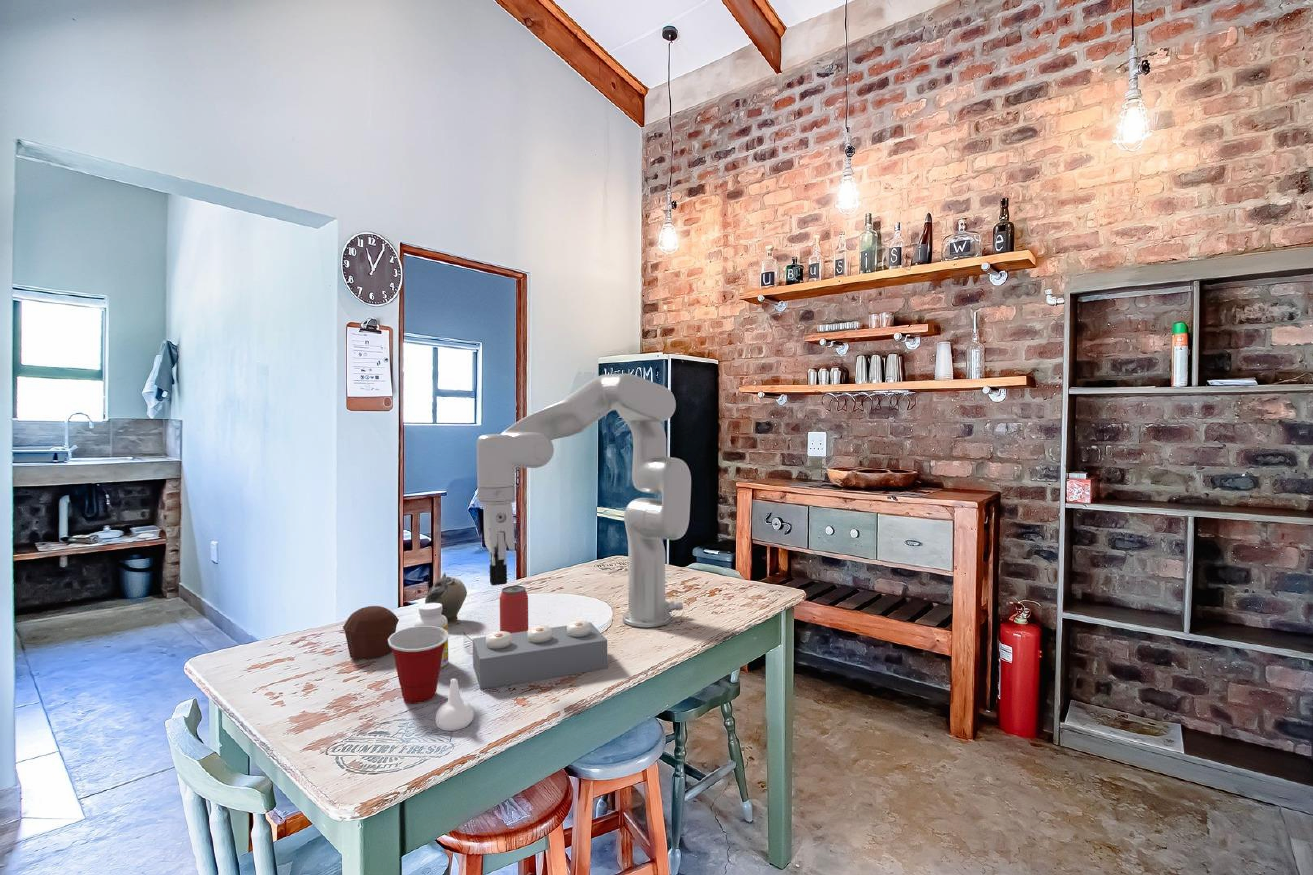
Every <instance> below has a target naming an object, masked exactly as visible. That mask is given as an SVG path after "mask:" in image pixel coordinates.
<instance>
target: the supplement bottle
mask: <svg viewBox="0 0 1313 875" xmlns="http://www.w3.org/2000/svg"><path fill="white" fill-rule="evenodd" d="M442 610H443V609H442V604H440V603H428V604H425V603H424V604H421V605H420V606H419V607H418V614H419V617H418V618H417V619H416V620H415V621H414V626H413V627H416V626H435V627H440V628H443V629H444V630H446V631H447V632H448V633H449V630H448V628H449V626H448V622H447V618H446V617H445V616H444V615H442V614H441V612H442ZM448 663H449V638H448V639H447V641H446V642H445V646H444V650H443V654H442V661H441V667H440V669H441V668H444V667H445V666H447V665H448Z"/></svg>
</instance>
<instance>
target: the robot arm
mask: <svg viewBox="0 0 1313 875" xmlns="http://www.w3.org/2000/svg"><path fill="white" fill-rule="evenodd" d="M676 402H677V401H676V399H675V396H674V394H673V392H672V391H671V390H670V389H668V387H666V386H664V385H661V384H659V383H656V382H653V381H651V380H649V379H646V378H644V377H641V376H639V375H635V374H631V373H612V374H611V373H610V374H609V373H607V374H601V375H598V376H596V377H594V378H592V379H591V380H590V381H588V382H586V383H585V384H583V386H581V387H580V388H578V389H577V390H575V391H574V392H572V393H571V394H569V395H568V396H566V397H564V398H563V399H562V400H560V401H559V402H556V403H553V404H551V405H549V406H547V407H544V408H543V409H540V410H538V411H536V412H533V413H531V414H529V415H527V416H525V417H523V418H521V419H519V421H517V422H515V423H513V424H512V425H511V426H509V427H508V428H506V429H505V430H504V431H502V433H492V434H491V433H489V434H483V435H480V436H479V437H478V438H477V441H476V469H477V470H476V472H477V473H476V474H477V475H476V476H477V478H476V479H477V480H476V482H477V483H476V484H477V503H478V504H481V505H483V534H484V536H483V537H484V544H485V546H486V548H487V550H488V551H489V563H490V564H489V583H490V585H491V586H500V585H501V586H502V585H506V584H507V583H508V566H507V565H508V564H507V549H508V550H509V551H510V552H512V553H513V552H514V551H515V550H516V543H515V542H516V541H515V527H514V526H515V522H514V521H515V520H514V512H513V503H515V502H516V500H517V498H516V496H517V493H516V491H517V490H516V489H517V488H516V469H517V468H528V469H537V468H541V467H544V466H546V465H548V463H549V462H550V461H551V460H552V458H553V456H554V453H555V452H554V450H555V448H554V447H555V446H554V443H553V442H552V441H553V440H557V439H563V438H567V437H571V436H575V435H578V434H581V433H583V432H584V431H586V430H587V429H589V428H590V427H591V426H592V425H594V424H596V423H597V421H599V420H600V419H602V418H603V417H605V416H606V415H607V414H609V413H610V412H611V411H616V413H617V414H618V415H619V417H621V419H622V420H623V421H624V422H625V423H626V425H627V427H628V428H629V430H630V431H631V435H632V440H633V444H632V446H633V449H632V450H633V451H632V467H631V468H632V469H631V471H632V472H631V473H632V474H631V479H632V480H631V481H632V486H633V487H634V488H635V489H636V490H637V491H639V492H642V493H647V494H648V493H649V494H654V495H661V499H659V498H652V497H638V498H635V499H632V500H631V501H630V502H629V503H628V504H627V505H626V507H625V510H624V516H623V520H624V525H625V532H626V536H627V537H626V538H627V551H628V552H627V553H628V555H627V556H628V560H627V561H628V563H627V564H628V610H627V611H626V612H624V613H623V614H622V621H623V623H625V624H627V625H629V626H631V627H636V628H637V627H638V628H656V627H661V626H664V625H667V624H669V623H670V622H671V621H672V614H671V613H672V612H673V611H681V610H683V609H684V605H683V602H674V601H673V600H672V601H667V600H666V549H665V545H664V542H663V540H669V541H670V540H671V541H676V540H679V539H681V538H682V537H684V535H685V534H686V533H687V530H688V528H689V525H690V524H689V523H690V514H691V496H692V495H691V493H692V475H691V471H690V469H689V466H688V464H687V463H686V461H684V460H683V459H680V458H677V457H672V456H671V457H670V456H667V437H666V431H665V428H664V426H663V424H662V422H665V421H668V420H669V419H670V418H671V417H672V416H673V415H674V413H675V411H676V408H677V406H676V405H677V403H676Z"/></svg>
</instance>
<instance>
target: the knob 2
mask: <svg viewBox="0 0 1313 875" xmlns="http://www.w3.org/2000/svg"><path fill="white" fill-rule="evenodd" d="M566 626H567V634H568V635H569V636H572V637H582V636H586V635H589V634H590V622H589V621H587V620H574V621H570V622H568V623H567V624H566Z"/></svg>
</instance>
